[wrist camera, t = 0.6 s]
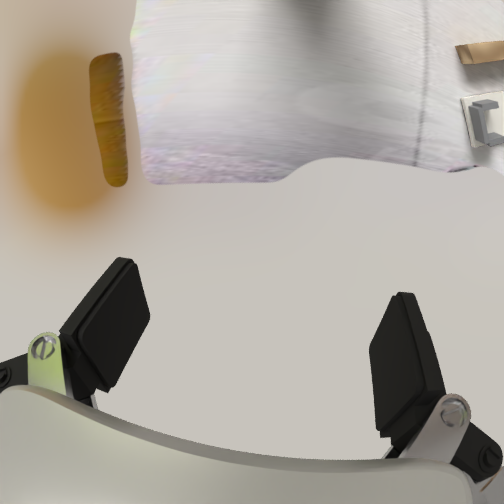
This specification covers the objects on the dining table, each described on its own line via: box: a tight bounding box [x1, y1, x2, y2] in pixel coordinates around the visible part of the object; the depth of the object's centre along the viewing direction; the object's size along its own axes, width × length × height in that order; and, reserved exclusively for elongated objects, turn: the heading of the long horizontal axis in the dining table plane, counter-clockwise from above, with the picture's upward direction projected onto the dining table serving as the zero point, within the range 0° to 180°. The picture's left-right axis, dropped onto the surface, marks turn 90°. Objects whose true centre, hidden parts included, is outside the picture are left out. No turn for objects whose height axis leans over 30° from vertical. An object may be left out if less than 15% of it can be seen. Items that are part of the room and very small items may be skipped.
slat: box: [455, 41, 504, 64], centre depth 21 cm, size 3×16×4 cm, turn 117°
